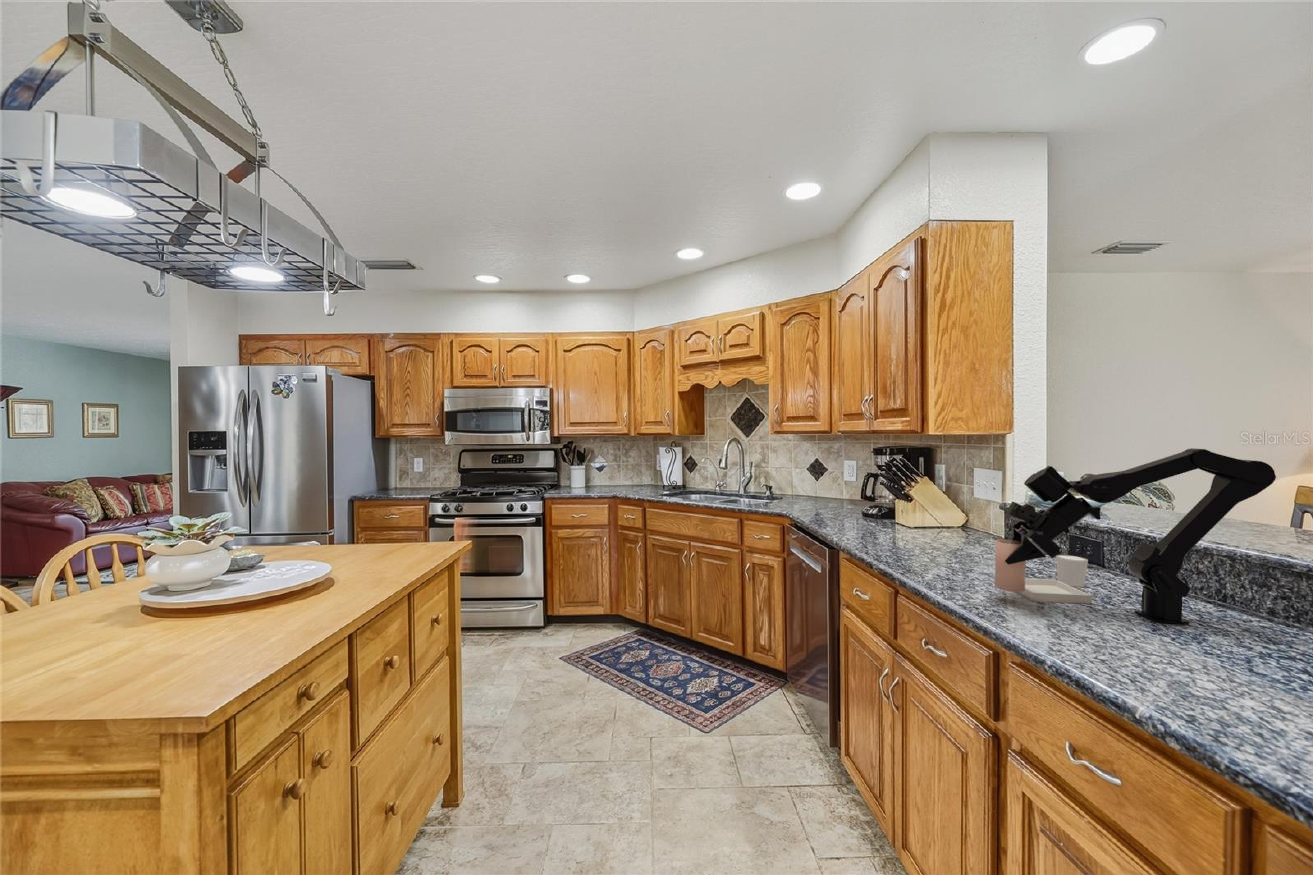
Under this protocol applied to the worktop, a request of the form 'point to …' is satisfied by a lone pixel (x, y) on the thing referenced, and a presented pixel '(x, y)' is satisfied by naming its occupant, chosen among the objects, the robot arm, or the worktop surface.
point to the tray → (1053, 592)
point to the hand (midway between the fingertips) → (1003, 559)
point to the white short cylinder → (1071, 570)
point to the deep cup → (1008, 568)
